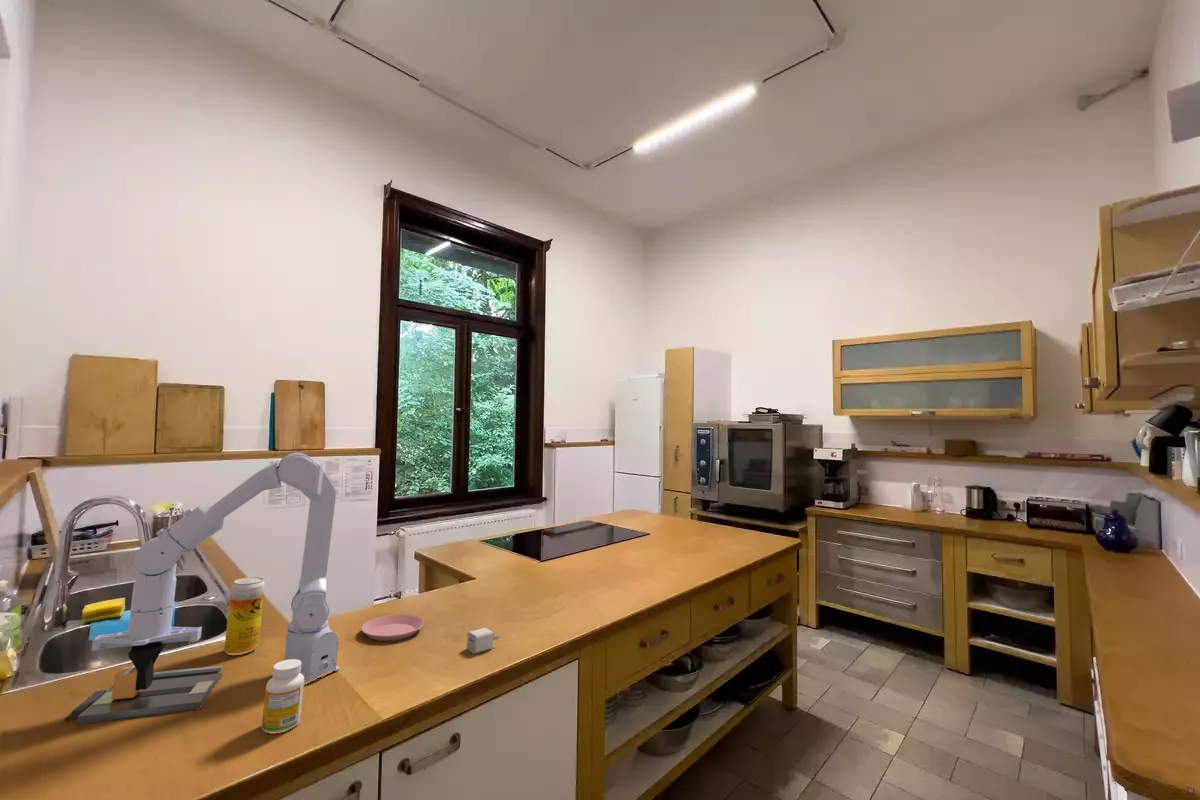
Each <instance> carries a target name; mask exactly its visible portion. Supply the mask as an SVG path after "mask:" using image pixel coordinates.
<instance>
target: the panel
mask: <svg viewBox="0 0 1200 800" xmlns="http://www.w3.org/2000/svg"><path fill="white" fill-rule="evenodd" d="M222 676H223V674H222V672H221V673H219V674H209V675H200V676H190V677H180V678H171V679H161V680H152V684H151V685H150V686H149V687H148V688H147V689H145V690H141V691H140V692H139V693H138V694H137V695H136V696H135V697H132V698H123V699H114V700H111V699H112V691H113V685H112V686H111V687H110V688H108V689H107V691H106V692H105V693H104V694H103V695H102V696H101V697H100V698H98V699H97V700H96V701H95V702H94V703H93V704H92V705H90V706H89V707H88V708H87V709H86V710H85V711H83V712H82V713H81V714H80V715H79V716H78V718H77V720H76V725H82V724H89V723H98V722H99V723H100V722H107V721H114V720H121V719H129V718H131V719H132V718H139V717H146V716H154V715H163V714H170V713H179V712H187V711H186V710H188V711H192V710H191V709H196V710H198V709H197V708H200V706H201V705H202V704H203V702H204V701H205V700H207V699H208V698H209V697H210V695H211V694H212V693H211V691H212V689H213V688H214V687H215V685H216V684H217V683H218V681H219V680H220V678H221V679H222ZM218 684H219V683H218ZM215 688H216V687H215ZM212 692H213V691H212ZM210 693H211V694H210ZM209 694H210V695H209ZM208 696H209V697H208ZM207 697H208V698H207ZM206 698H207V699H206ZM205 702H206V701H205ZM205 702H204V703H205ZM203 705H204V704H203ZM203 705H202V706H203ZM202 706H201V707H202ZM200 709H201V708H200Z"/></svg>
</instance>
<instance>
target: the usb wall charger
mask: <svg viewBox="0 0 1200 800" xmlns="http://www.w3.org/2000/svg"><path fill="white" fill-rule="evenodd" d="M466 638H467V639H466V649H467V650H468V651H469V652H471V653H473V654H474V655H475V654H479V653H483V652H485V651H488V650H491V649H493V644H494V641H496V640H499V639H500V638H501V635H496V633H495V632H493V631H492V630H490V629H488V628H487V627H482V628H479V629H475V630H471V631H468V632H467V636H466Z"/></svg>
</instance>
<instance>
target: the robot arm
mask: <svg viewBox="0 0 1200 800" xmlns="http://www.w3.org/2000/svg"><path fill="white" fill-rule="evenodd" d="M281 482H283V483H284V484H286V485H288V486H290V487H291V488H293V489H297V490H299V491H300V492H301V493H302V494H303V495H304V496H305V497H307V498H308V500H309V508H308V516H307V523H306V531H305V538H304V545H303V547H304V549H303V557H302V562H301V563H302V564H301V572H300V577H299V582H298V587H297V591H296V593H294V595H293V597H292V600H291V602H290V605H291V606H290V607H291V611H292V617H291V619H292V620H291V621H290V622H289V623H288V624H287V629H286V637H285V638H286V639H285V648H284V649H285V650H284V660H289V659H297V660H300V661H301V671H300V672H299V673H301V674H302V675H303V676H304V680H306V681H304V683H307V682H309V681H311V680H313V679H315V678H317V677H318V676H321V675H322V674H324V673H326V672H328V671H330V670H336V671H335V672H337V671H339V670H340V666H339V665H337V662H338V651H339V637H338V635H337V633H336V632H335V631H333V630H331V628H330V626H329V622H330V621H329V615H330V605H329V604H328V602H327V575H328V574H327V573H328V565H329V556H330V550H331V548H330V547H331V541H332V532H333V522H334V514H335V505H336V500H337V499H336V497H337V490H336V488H335V486H334V485H333V483H332V481H331V480H330V478H329V477H328V475H327V474H326V472H325V470H324V469H323V468H322V465H321V464H320V463H318V462H317V461H315V460H314V459H313V458H311V457H310V456H309V455H308V454H305V453H303V452H296V451H295V452H291V453H288V454H286V455H284V456H283V457H282V458H281V459H280V461H279V460H276V461H274V462H272V463H271V464H270V463H269V464H268V465H267V466H265V467H263V468H261V469H260V470H259V471H257V472H255V473H254V474H252V475H251V476H250V477H248V478H247V479H246V480H244V481H243V482H242V483H240V485H239V484H238V486H236V487H235V488H234V489H233V490H231V491H230V492H228V494H226V495H225V496H224V497H222V498H221V499H219V500H218V501H217V502H215V503H213V504H212V505H200V506H197V507H195V508H194V509H193V508H192V507H190V508H188V509H187V510H186V511H184V512H183V515H184V516H183V517H181V518H180V519H179V520H178V519H177V521H176V522H175V523H173V524H172V525H170V526H169V527H167V528H166V529H164V528H161V529H160V530H158V531H157V532H156V533H155V534H156V535H157V537H156V536H155V537H154V538H152V539H150V540H148V541H147V542H145V543H144V544H143V545H142V546H141V547H140V548H138V550H137V551H136V553H135V555H134V557H133V566H134V567H135V569H136V572H135V581H134V582H133V585H132V586H133V587H132V593H131V594H132V595H131V603H130V612H129V613H130V614H129V620H128V627H127V628H128V629H127V630H125V631H120V632H116V633H107V634H100V635H97V636H96V637H95V638H93V639H92V645H91V646H92V647H91V651H92V652H96V651H97V652H98V651H100V650H105V649H113V648H114V649H115V648H122V647H123V648H124V647H131V649H130V651H128V656H127V657H128V659H129V660H130V661H131V663H132V664H133V666H135V668H136V670H137V672H138V674H137V680H136V690H145V689H147V688H148V687H149V686H150V685H151V684H152V679H153V672H154V668H155V667H154V666H155V663H156V661H157V660H158V658H159V655H160V654H161V652H162V651H163V649H164V647H165V646H166V645H167V644H169V643H171V644H172V643H179V642H190V643H197V642H198V641H199V640H200V639H201V637H202V629H203V627H202V626H198V627H197V626H195V627H193V626H191V627H189V626H172V623H173V616H174V615H173V614H174V607H175V604H174V603H175V596H176V587H177V577H176V576H177V575H176V573H177V565H178V564H177V562H178V561H179V559H180V558H181V557H182V555H184V554H189V553H191V552H192V551H193V550H194V549H196V548H198V546H200V545H201V544H203V543H204V542H206V541H207V540H208V539H209V538H211V537H212V536H214V535H215V534H217V532H219V531H220V530H222V529H223V528H224V522H225V518H226V517H228V516H229V515H230V514H232V513H233V512H235V511H236V510H238V509H239V508H241V506H244V505H245V504H246V503H248V502H249V501H250V500H252V499H253V498H254V497H256V496H258V495H260V493H262V492H263V491H267V490H272V489H273V490H274V489H280V488H282V483H281ZM284 660H283V661H284Z"/></svg>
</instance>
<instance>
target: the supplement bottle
mask: <svg viewBox="0 0 1200 800" xmlns="http://www.w3.org/2000/svg"><path fill="white" fill-rule="evenodd" d="M300 671H301V661H300V660H297V659H289V660H280V661H279V662H276V663H275V664H274V665H273V667H272V672H273V674H272V673H271V676H272V677H271V678H270V679H269V680H268V681H267V683H266V686H265V693H264V702H263V710H262V711H263V713H262V722H261V730H262V729H263V730H264V731H266V732H281V731H284V730H288V729H291V728H293V727H295V726H296V725H297V726H298V725H299V724H300V722H301V718H302V710H303V699H304V698H303V697H304V687H305V685H304V676H303V675H302V674H301V673H299V672H300ZM297 726H296V727H297ZM296 727H295V728H296ZM293 729H294V728H293ZM263 730H262V731H263ZM291 730H292V729H291Z"/></svg>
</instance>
